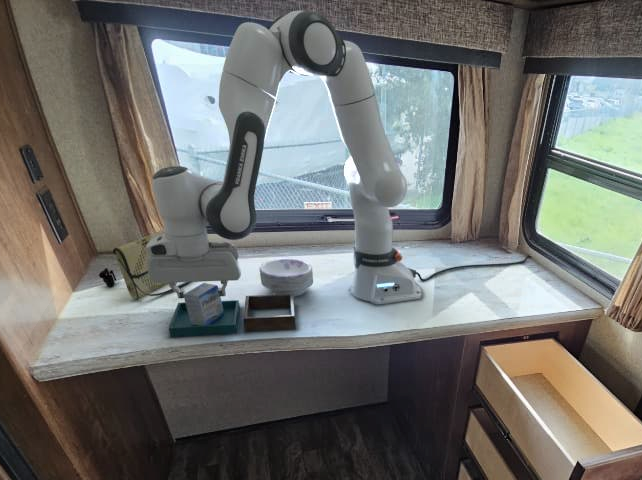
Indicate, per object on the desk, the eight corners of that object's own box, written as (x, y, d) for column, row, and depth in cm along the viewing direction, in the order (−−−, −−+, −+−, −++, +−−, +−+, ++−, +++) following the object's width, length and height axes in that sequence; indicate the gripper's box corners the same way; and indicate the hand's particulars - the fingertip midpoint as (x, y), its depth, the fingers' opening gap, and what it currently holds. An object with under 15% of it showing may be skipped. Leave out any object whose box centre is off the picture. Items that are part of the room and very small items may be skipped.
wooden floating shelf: (294, 306, 126) (292, 293, 123) (296, 329, 116) (294, 316, 113) (248, 308, 122) (245, 295, 120) (245, 332, 112) (243, 318, 110)
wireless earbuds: (110, 291, 124) (104, 274, 121) (100, 291, 123) (93, 274, 120) (118, 281, 129) (112, 264, 126) (108, 281, 128) (102, 264, 125)
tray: (240, 308, 122) (238, 300, 120) (236, 333, 111) (235, 324, 110) (180, 311, 118) (178, 302, 116) (171, 337, 107) (168, 328, 106)
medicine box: (206, 327, 111) (198, 296, 106) (190, 324, 112) (182, 293, 107) (225, 314, 117) (218, 284, 112) (210, 311, 118) (203, 281, 113)
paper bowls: (310, 279, 142) (308, 256, 137) (317, 299, 130) (315, 275, 126) (261, 282, 137) (257, 258, 132) (264, 303, 125) (260, 278, 121)
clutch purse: (148, 306, 118) (130, 253, 109) (125, 302, 119) (106, 248, 110) (215, 268, 142) (205, 222, 133) (196, 265, 143) (184, 219, 134)
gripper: (236, 237, 107) (246, 289, 115) (143, 239, 102) (161, 293, 110) (235, 246, 102) (245, 299, 111) (137, 248, 97) (155, 304, 105)
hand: (202, 296), depth 110 cm, fingers open, 8 cm apart
